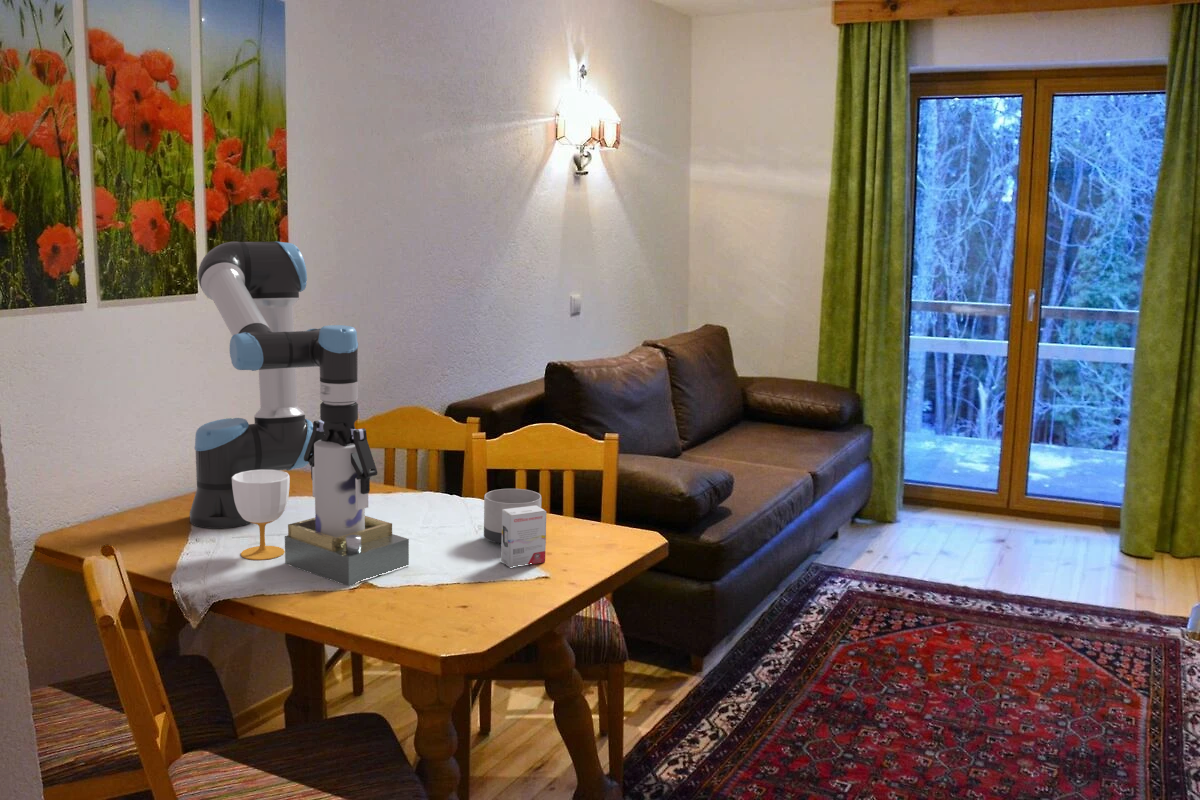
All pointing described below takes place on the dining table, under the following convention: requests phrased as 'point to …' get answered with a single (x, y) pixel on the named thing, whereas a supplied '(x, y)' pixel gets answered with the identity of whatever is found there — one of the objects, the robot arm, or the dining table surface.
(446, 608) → the dining table surface
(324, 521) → the container
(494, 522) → the planter
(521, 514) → the ink box
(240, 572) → the dining table surface
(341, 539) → the grey boxy piece
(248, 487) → the cup
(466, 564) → the dining table surface
